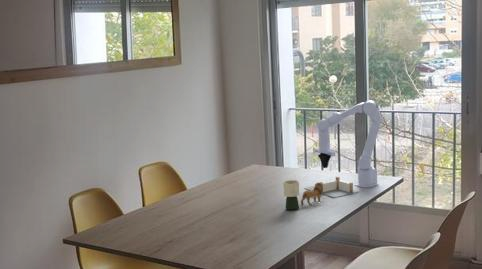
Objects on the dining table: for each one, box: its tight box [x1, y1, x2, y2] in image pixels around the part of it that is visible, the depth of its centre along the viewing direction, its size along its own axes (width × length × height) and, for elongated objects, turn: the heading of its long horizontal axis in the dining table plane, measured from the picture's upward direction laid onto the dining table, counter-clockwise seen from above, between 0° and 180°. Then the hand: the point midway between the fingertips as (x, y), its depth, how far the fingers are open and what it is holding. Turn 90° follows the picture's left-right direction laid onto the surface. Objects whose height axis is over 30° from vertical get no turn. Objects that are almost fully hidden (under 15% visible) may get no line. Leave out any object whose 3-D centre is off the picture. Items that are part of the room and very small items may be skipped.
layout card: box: [303, 185, 360, 199], centre depth 308 cm, size 16×24×1 cm, turn 31°
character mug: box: [283, 179, 300, 211], centre depth 279 cm, size 11×7×13 cm, turn 19°
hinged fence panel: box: [319, 180, 337, 192], centre depth 306 cm, size 11×2×5 cm, turn 124°
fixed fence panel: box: [335, 176, 354, 193], centre depth 305 cm, size 12×2×6 cm, turn 31°
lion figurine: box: [300, 182, 323, 207], centre depth 287 cm, size 15×5×9 cm, turn 134°
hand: (325, 167), depth 318 cm, fingers closed
